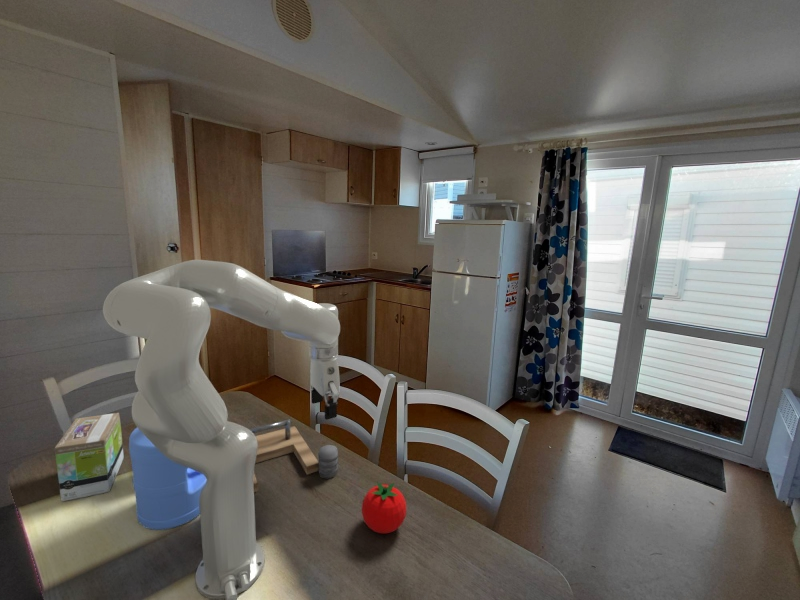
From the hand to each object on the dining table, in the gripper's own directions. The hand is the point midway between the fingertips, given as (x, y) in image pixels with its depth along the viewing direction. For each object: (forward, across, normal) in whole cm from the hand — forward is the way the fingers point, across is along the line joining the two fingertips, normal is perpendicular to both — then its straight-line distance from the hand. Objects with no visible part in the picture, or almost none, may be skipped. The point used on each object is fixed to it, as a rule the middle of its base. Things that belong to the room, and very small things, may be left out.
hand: (323, 409), depth 101 cm
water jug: (+19, +5, +36) cm, 41 cm away
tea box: (+19, +27, +53) cm, 62 cm away
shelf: (+19, +12, +11) cm, 25 cm away
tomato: (+19, -25, -5) cm, 32 cm away
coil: (+19, -1, -1) cm, 19 cm away
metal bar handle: (+16, +16, +11) cm, 25 cm away
